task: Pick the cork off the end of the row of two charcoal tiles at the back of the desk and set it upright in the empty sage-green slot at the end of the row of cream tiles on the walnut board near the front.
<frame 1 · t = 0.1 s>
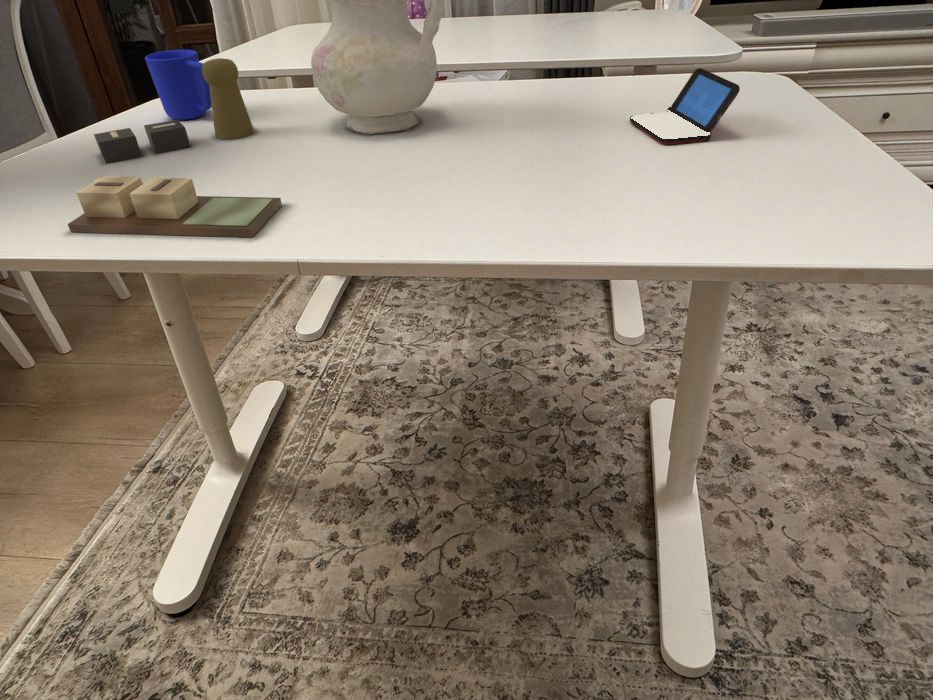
hand: (157, 4, 83), 20 cm above the table, tool pointing down, fingers open, 13 cm apart
cork: (235, 134, 103), on the table
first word: (146, 150, 97), on the table
word board: (179, 218, 76), on the table
ceramic pitcher: (388, 125, 105), on the table
handheld console: (677, 132, 97), on the table
mug: (195, 118, 112), on the table
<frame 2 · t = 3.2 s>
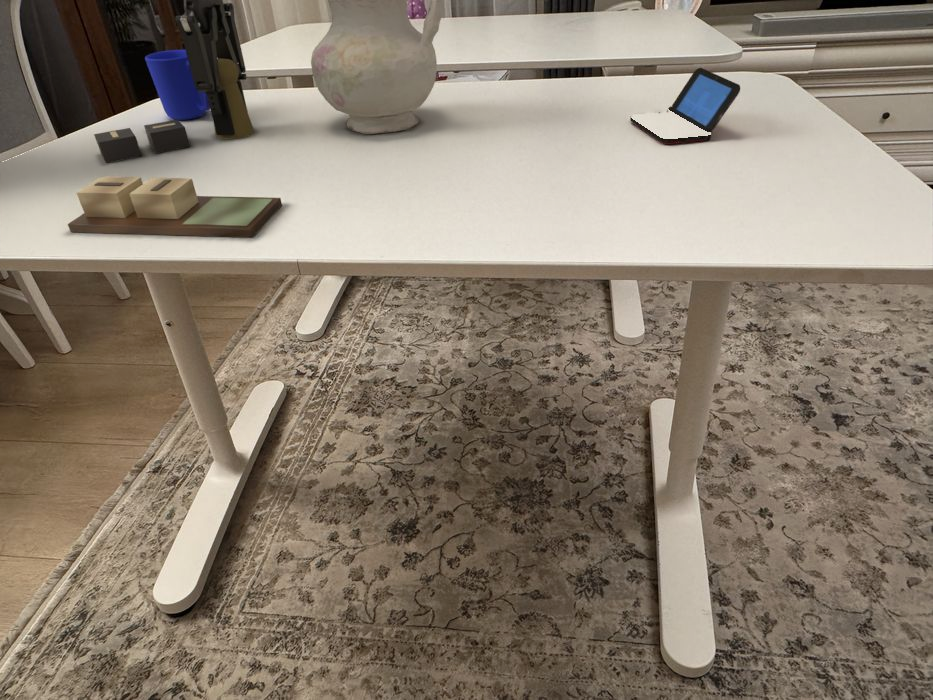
hand: (233, 128, 103), 1 cm above the table, tool pointing down, fingers closed on cork, 5 cm apart
cork: (235, 134, 103), on the table, touching gripper
everything else where it was.
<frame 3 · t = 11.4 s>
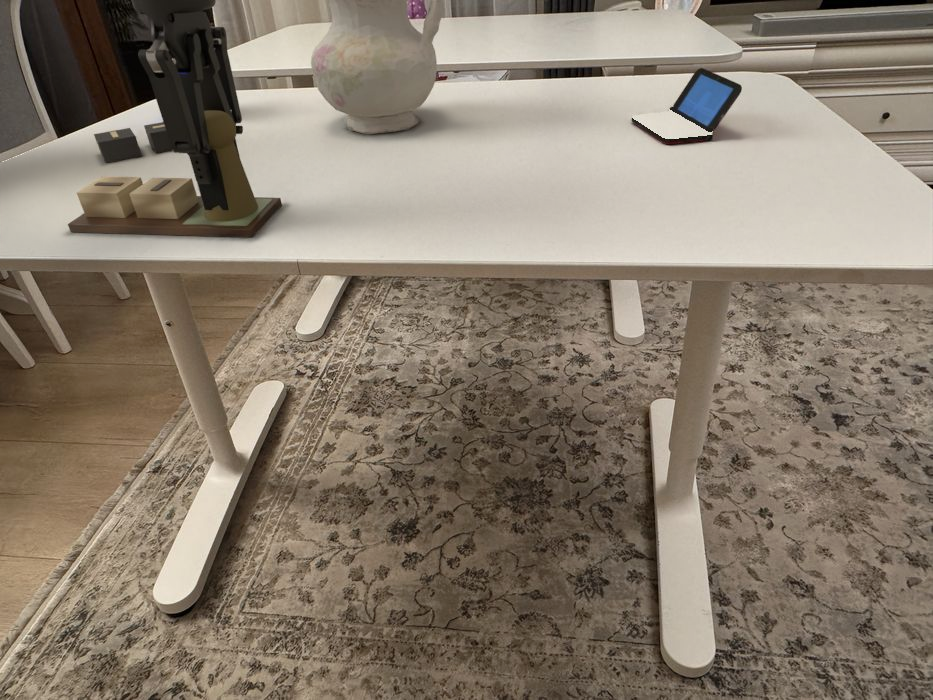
hand: (227, 200, 74), 2 cm above the table, tool pointing down, fingers closed on cork, 4 cm apart
cork: (231, 212, 74), point 1 cm above the table, touching gripper, word board
everything else where it was.
when the fingers open (2 cm above the table, at t = 11.4 s): cork stays where it is, resting on word board.
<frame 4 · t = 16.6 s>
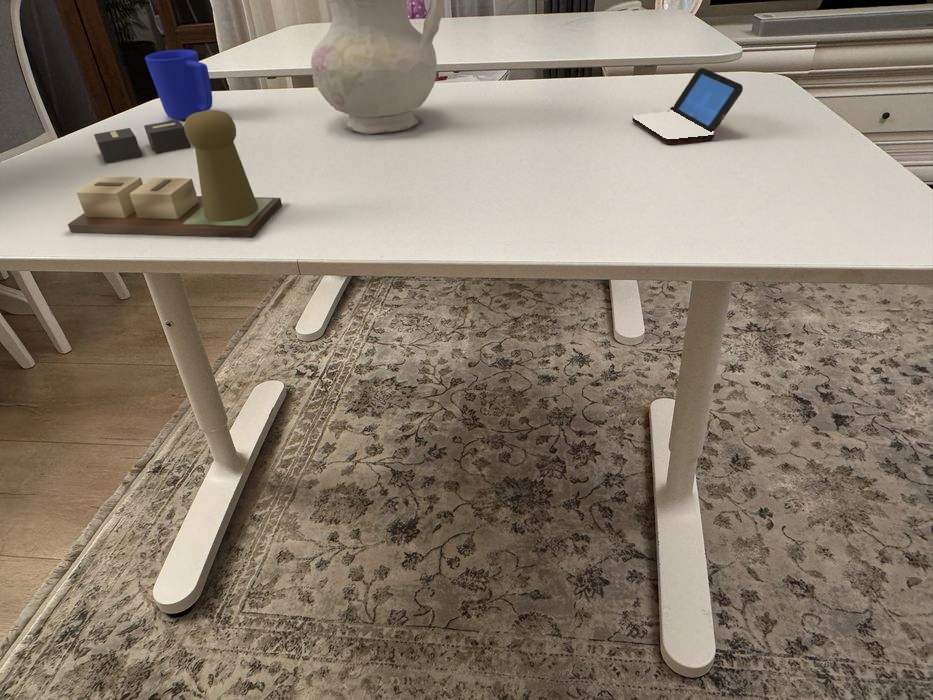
cork: (231, 212, 74), point 1 cm above the table, touching word board
everything else where it was.
at the end: cork 0.2 cm from the target spot on the word board, point 0.9 cm above the word board's base; cork tilted 0°; the gripper is holding nothing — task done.
